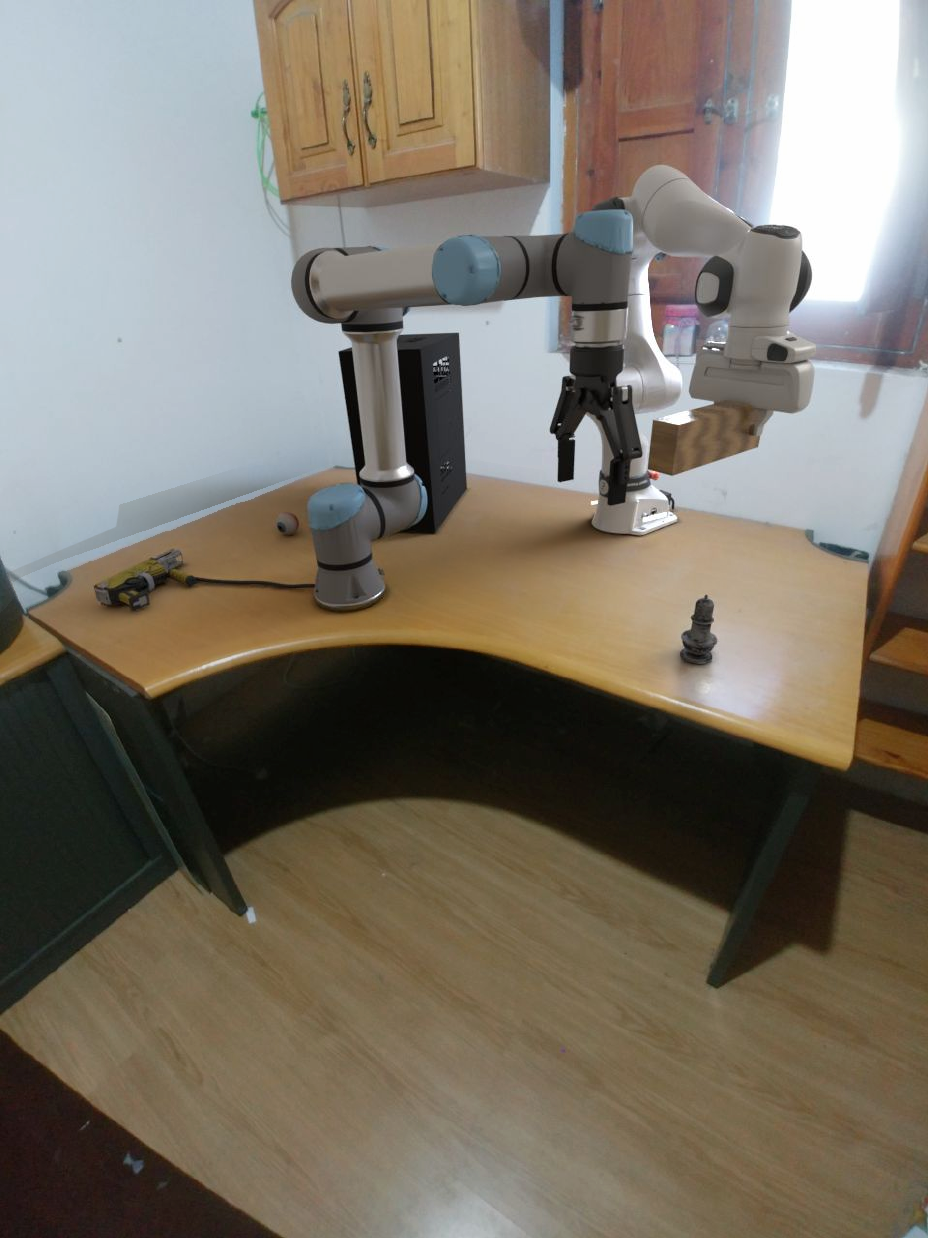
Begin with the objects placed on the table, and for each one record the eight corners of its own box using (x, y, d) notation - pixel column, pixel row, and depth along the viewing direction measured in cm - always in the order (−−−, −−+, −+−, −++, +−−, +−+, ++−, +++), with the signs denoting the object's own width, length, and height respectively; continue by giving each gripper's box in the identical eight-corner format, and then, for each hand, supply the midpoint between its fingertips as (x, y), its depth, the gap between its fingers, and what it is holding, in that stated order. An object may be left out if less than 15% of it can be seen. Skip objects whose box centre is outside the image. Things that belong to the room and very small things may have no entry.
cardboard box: (435, 533, 160) (420, 348, 138) (363, 530, 165) (338, 351, 142) (466, 488, 192) (459, 332, 169) (406, 486, 196) (390, 334, 174)
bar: (733, 441, 109) (741, 396, 105) (758, 447, 105) (767, 400, 101) (647, 469, 97) (652, 419, 93) (672, 476, 94) (678, 424, 90)
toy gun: (219, 557, 146) (169, 546, 150) (142, 598, 126) (87, 585, 129) (222, 574, 148) (172, 563, 152) (147, 618, 128) (92, 604, 132)
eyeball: (273, 537, 164) (268, 516, 161) (287, 528, 169) (282, 508, 166) (291, 539, 161) (286, 518, 158) (305, 530, 166) (301, 510, 163)
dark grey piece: (716, 666, 102) (728, 603, 96) (680, 663, 103) (689, 601, 97) (711, 647, 107) (722, 587, 101) (676, 645, 108) (685, 585, 102)
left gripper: (529, 340, 93) (528, 475, 103) (633, 353, 73) (619, 520, 83) (570, 335, 95) (565, 468, 106) (681, 347, 75) (662, 509, 86)
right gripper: (687, 342, 103) (676, 425, 110) (805, 351, 88) (784, 446, 95) (710, 338, 106) (698, 419, 113) (827, 346, 91) (805, 439, 98)
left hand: (589, 491), depth 95 cm, fingers open, 13 cm apart
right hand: (738, 432), depth 104 cm, fingers closed on bar, 5 cm apart
